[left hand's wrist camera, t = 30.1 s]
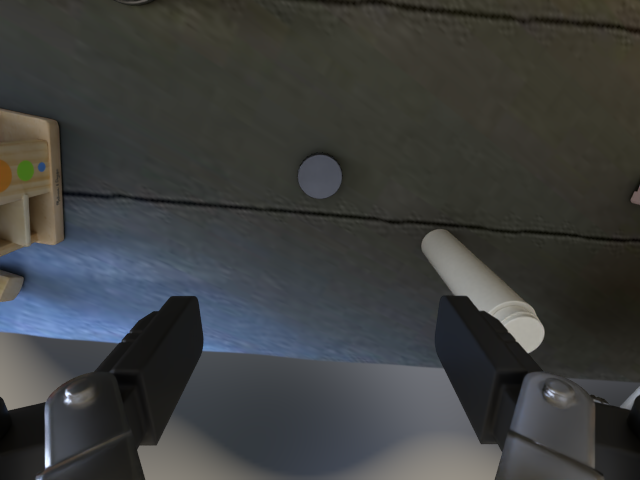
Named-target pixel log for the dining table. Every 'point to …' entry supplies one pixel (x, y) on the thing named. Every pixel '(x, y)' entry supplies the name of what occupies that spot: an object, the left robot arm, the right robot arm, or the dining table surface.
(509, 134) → the dining table surface
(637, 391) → the right robot arm
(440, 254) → the white cylindrical bottle
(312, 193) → the lid
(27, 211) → the pounding bench toy
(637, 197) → the clamp
